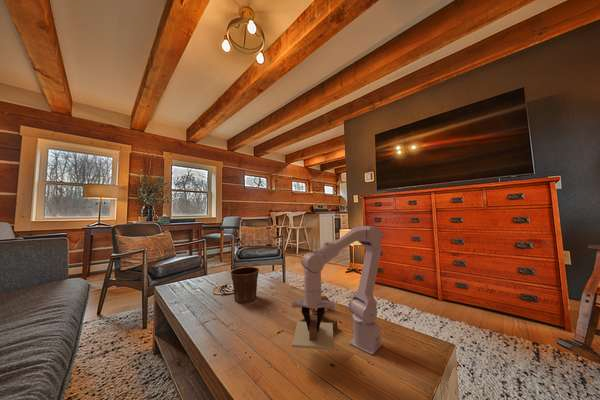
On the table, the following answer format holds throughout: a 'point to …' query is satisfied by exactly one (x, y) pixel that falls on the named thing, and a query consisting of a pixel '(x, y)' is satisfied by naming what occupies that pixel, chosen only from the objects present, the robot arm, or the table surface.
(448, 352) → the table surface
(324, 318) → the wooden tray
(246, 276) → the plant pot
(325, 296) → the lion figurine
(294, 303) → the robot arm
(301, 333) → the lid
